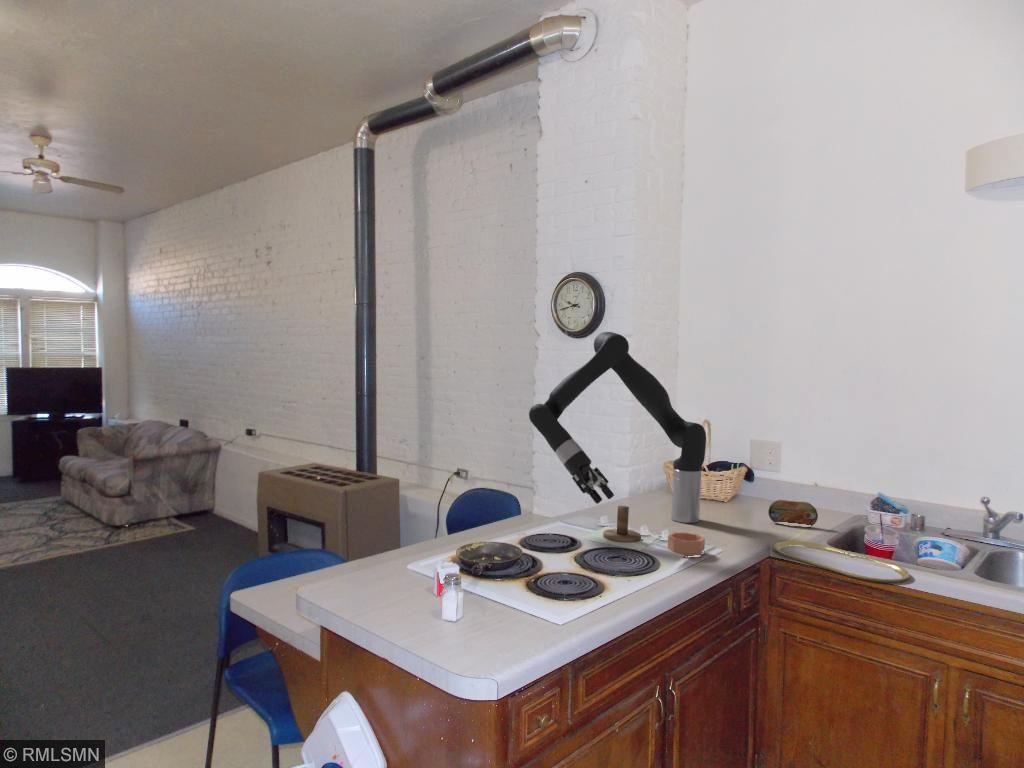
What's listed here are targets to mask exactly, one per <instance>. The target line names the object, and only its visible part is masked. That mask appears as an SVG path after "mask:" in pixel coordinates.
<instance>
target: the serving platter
mask: <svg viewBox="0 0 1024 768" xmlns="http://www.w3.org/2000/svg"><path fill="white" fill-rule="evenodd" d="M789 545H803V546H811V547H815V548H814V549H816V548H821V549H826V550H832V551H835V552H836V551H837V552H840V553H844V552H845V554H848V553H851V554H849V555H851V556H859V557H863V558H868V559H870V560H873V561H875V562H877V563H882V564H885V565H887V566H891V567H892V568H894V570H895V571H894V572H896V573H897V574H899V575H900V576H901V578H890V579H889V578H879V577H871V576H870V577H869V576H864V575H860V574H856V573H851V572H848V571H846V570H845V571H844V570H841V569H838V568H836V567H835V568H834V567H832V566H829V565H825V564H822V563H819V562H815V561H813V560H808V559H806V558H802V557H799V556H795V555H793V554H790V553H786V552H784V551H782V550H781V549H783V548H788V547H787V546H789ZM773 547H774V549H775V551H776V552H777V553H778V554H779V555H782V556H784V557H786V558H789V559H792V560H795V561H799V562H801V563H805V564H808V565H811V566H814V567H818V568H820V569H824V570H827V571H830V572H833V573H836V574H840V575H843V576H846V577H849V578H853V579H858V580H861V581H866V582H874V583H875V582H876V583H883V584H884V583H885V584H892V583H901V582H904V581H906V580H907V579H909V577H910V572H909V571H908V570H906V568H903V567H901V566H898V565H896V564H894V563H891V562H888V561H884V560H880V559H877V558H873V557H868V556H866V555H862V554H859V553H855V552H852V551H848V550H844V549H841V548H837V547H833V546H830V545H827V544H826V545H825V544H822V543H816V542H809V541H801V540H800V541H797V540H785V541H779V542H776V543H775V544H774V545H773ZM789 547H790V546H789ZM821 549H820V550H821ZM841 551H842V552H841Z"/></svg>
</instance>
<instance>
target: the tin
mask: <svg viewBox="0 0 1024 768" xmlns="http://www.w3.org/2000/svg"><path fill="white" fill-rule="evenodd" d="M767 512H768V517H769V519H770V520H771V521H772V522H773V523H774V522H788V523H798V524H806V525H811V527H812V526H814V525H815V524H816V523H817V522H818V519H819V516H818V511H817V509H816V507H814V505H812V504H811V503H810V502H808V501H807V502H806V501H799V500H798V501H796V500H795V501H794V500H788V499H787V500H785V499H778V500H775V501H773V502H771V504H770V505H769V508H768V511H767Z"/></svg>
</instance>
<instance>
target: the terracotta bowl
mask: <svg viewBox="0 0 1024 768" xmlns="http://www.w3.org/2000/svg"><path fill="white" fill-rule="evenodd" d="M705 545H706V537H704V536H702V535H700V534H696V533H691V532H685V531H682V532H681V531H680V532H678V531H677V532H675V531H674V532H671V533H670V534H668V535H667V549H669V550H670V551H672V552H673V553H677V554H682V555H684V556H687V557H688V556H694V555H701V553H702V551H703V550H704V549H705Z"/></svg>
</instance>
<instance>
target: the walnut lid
mask: <svg viewBox="0 0 1024 768" xmlns="http://www.w3.org/2000/svg"><path fill="white" fill-rule="evenodd" d="M629 512H630V508H629V506H627V505H618V506H617V516H616V518H617V519H616V528H617V529H609V530H605V531H604V532H603V537H604V538H605V539H608V540H611V541H615V542H624V543H631V542H638V541H640V540H641V534H640V533H638V532H639V531H636V530H631V529H629V516H630V515H629ZM635 531H636V532H635Z"/></svg>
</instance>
